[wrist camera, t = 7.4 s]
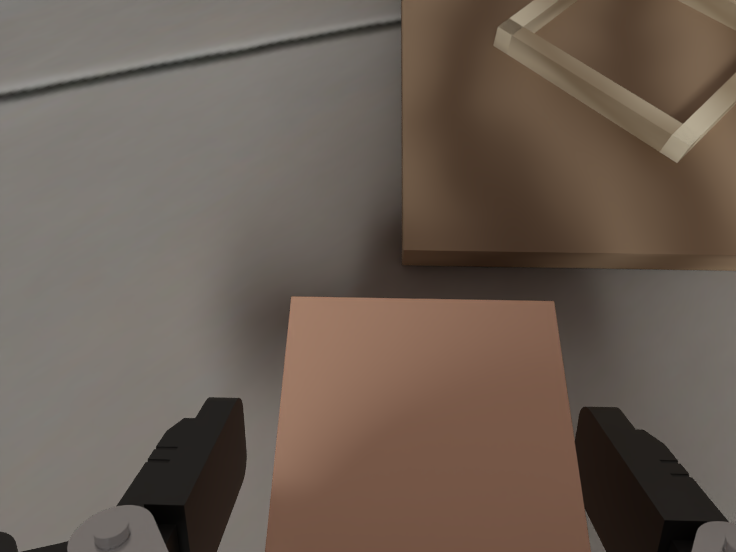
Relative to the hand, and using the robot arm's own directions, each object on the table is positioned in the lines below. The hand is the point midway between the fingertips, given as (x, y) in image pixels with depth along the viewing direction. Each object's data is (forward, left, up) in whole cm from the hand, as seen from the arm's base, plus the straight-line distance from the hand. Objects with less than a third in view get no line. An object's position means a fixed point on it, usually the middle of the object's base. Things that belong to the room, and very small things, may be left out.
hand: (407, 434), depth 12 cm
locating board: (-11, -18, -5) cm, 22 cm away
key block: (0, +1, -5) cm, 5 cm away
